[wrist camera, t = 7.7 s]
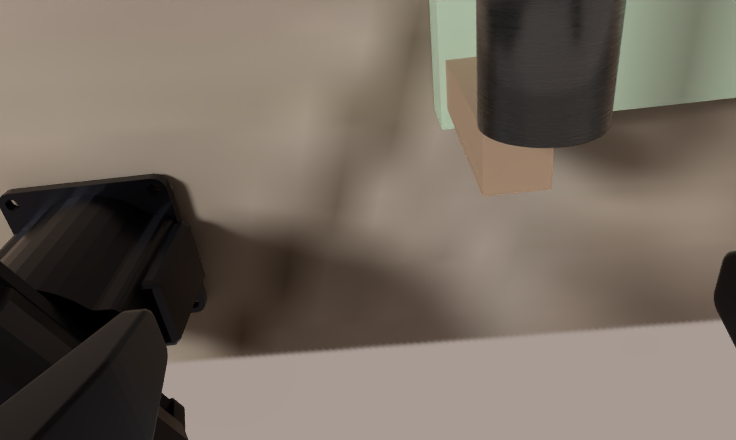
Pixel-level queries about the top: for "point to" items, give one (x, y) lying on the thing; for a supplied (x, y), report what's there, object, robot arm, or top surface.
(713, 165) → the top surface
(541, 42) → the rod
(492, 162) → the foosball frame
